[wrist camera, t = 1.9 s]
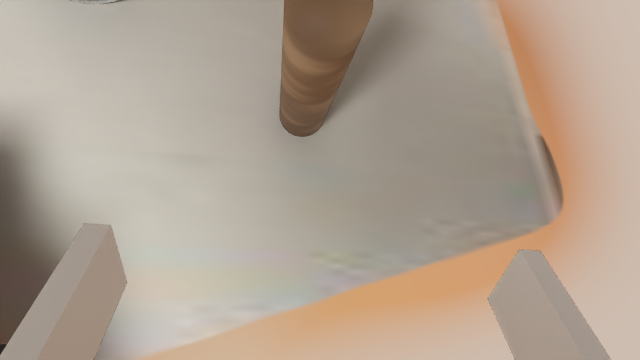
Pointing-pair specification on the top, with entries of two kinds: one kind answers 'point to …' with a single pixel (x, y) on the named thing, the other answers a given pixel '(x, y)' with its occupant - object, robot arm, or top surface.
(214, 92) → the top surface
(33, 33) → the top surface
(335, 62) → the dowel
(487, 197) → the top surface
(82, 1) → the ceramic mug
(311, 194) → the top surface
